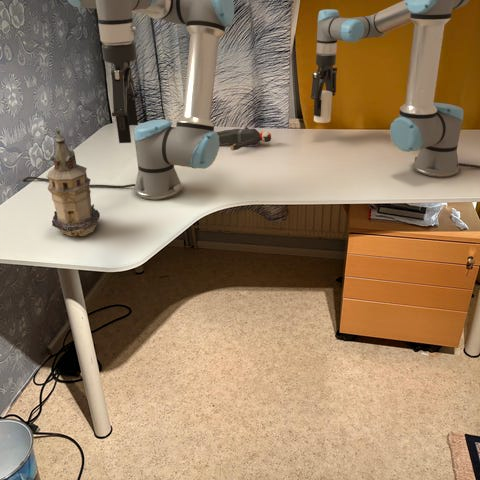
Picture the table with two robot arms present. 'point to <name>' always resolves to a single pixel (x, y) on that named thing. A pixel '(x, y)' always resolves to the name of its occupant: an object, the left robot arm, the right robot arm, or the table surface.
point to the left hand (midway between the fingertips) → (129, 133)
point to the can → (325, 108)
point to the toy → (243, 137)
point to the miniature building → (70, 193)
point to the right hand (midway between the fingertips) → (322, 113)
